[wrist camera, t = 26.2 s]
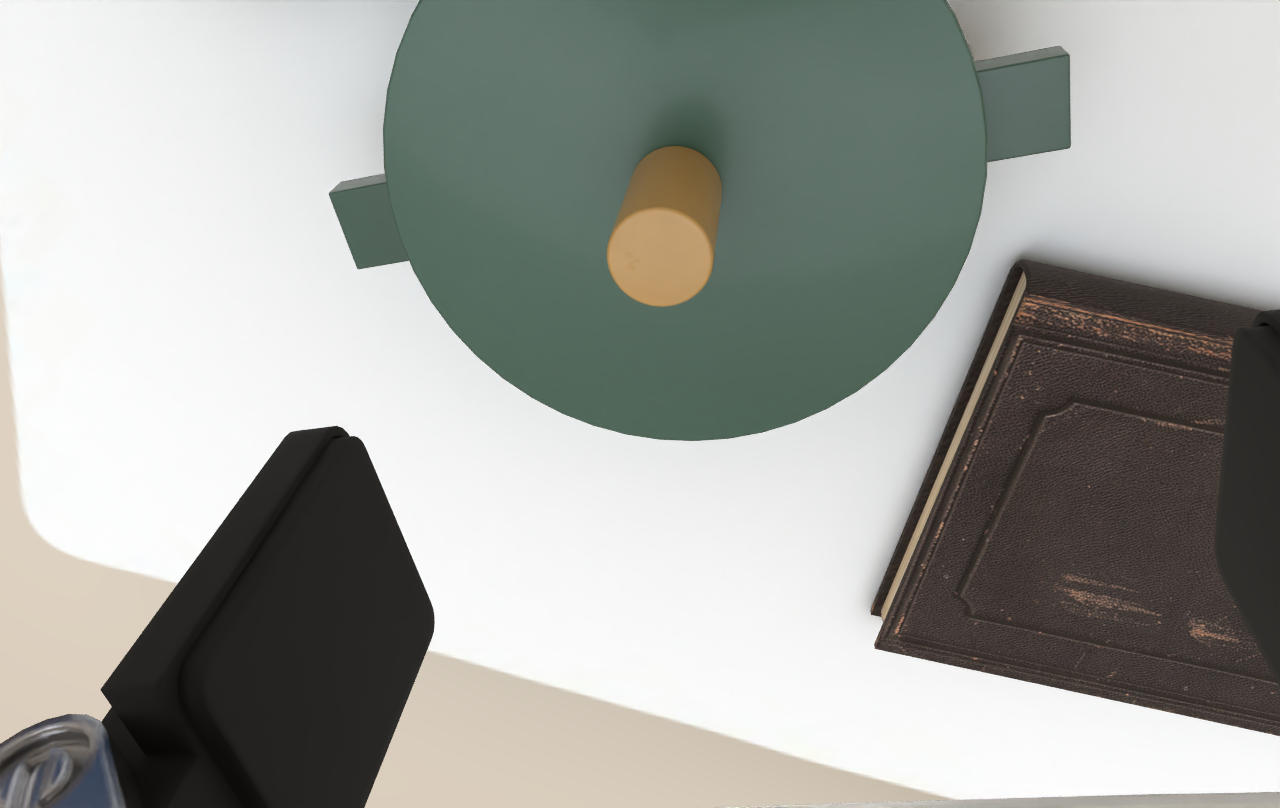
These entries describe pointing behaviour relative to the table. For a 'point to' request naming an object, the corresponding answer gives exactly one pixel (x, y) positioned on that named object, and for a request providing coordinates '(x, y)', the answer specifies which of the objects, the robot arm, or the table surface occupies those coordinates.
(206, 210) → the table surface
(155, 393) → the table surface
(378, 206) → the green cooking pot
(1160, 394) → the hardcover book
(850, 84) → the pot lid
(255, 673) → the robot arm
